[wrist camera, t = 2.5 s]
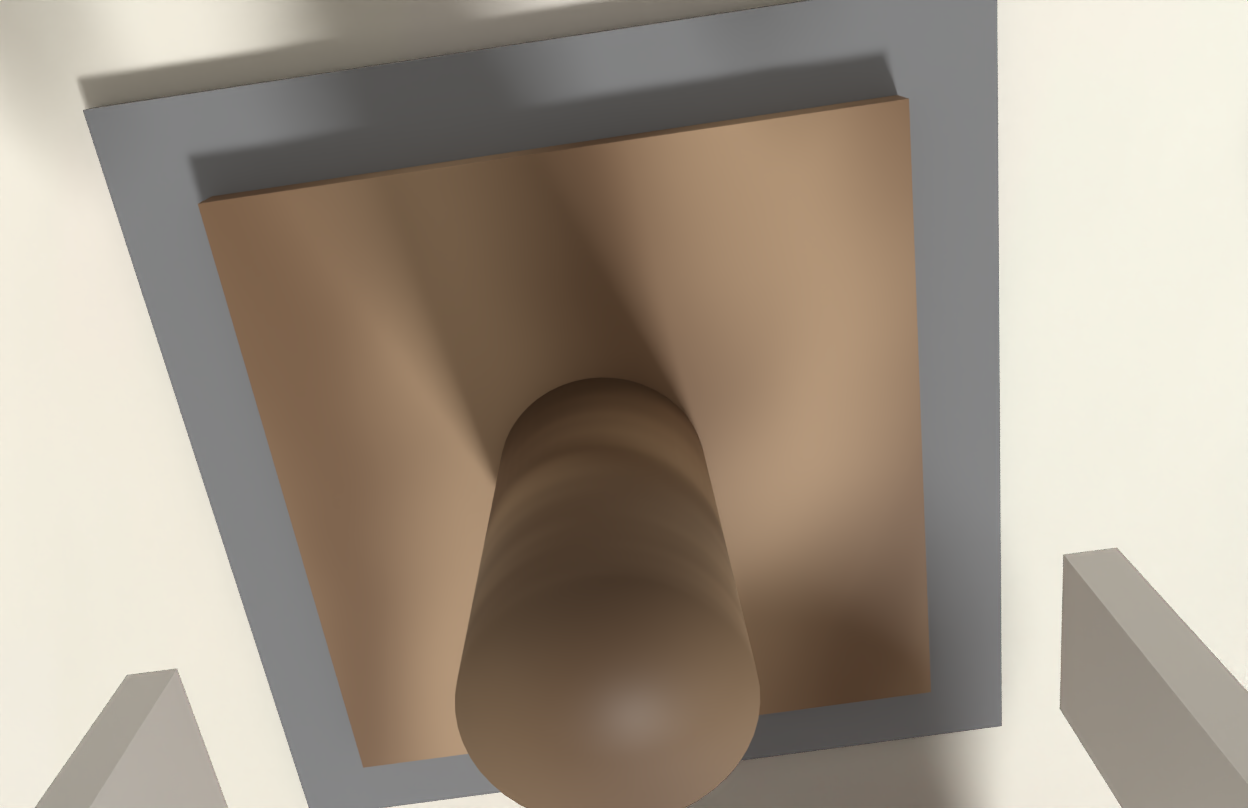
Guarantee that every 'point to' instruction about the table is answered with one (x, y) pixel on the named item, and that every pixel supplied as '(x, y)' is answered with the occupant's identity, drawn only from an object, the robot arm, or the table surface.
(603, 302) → the lid
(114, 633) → the table surface
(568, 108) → the mat
